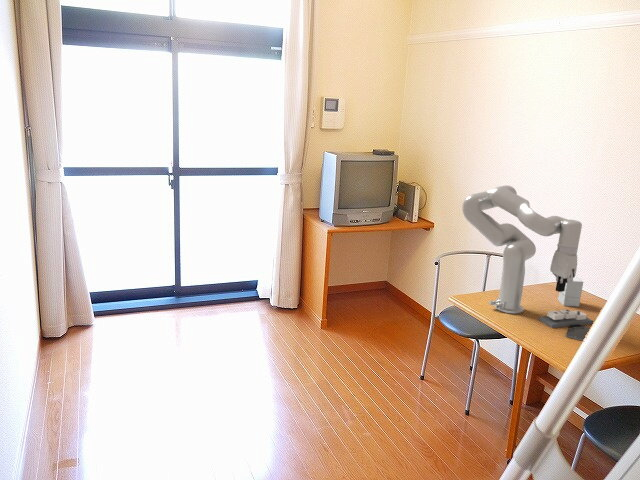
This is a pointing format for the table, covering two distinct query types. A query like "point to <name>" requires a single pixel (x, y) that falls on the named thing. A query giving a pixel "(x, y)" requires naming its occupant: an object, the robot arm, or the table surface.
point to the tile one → (555, 315)
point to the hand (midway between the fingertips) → (559, 290)
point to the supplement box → (571, 293)
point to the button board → (564, 322)
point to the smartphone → (577, 332)
